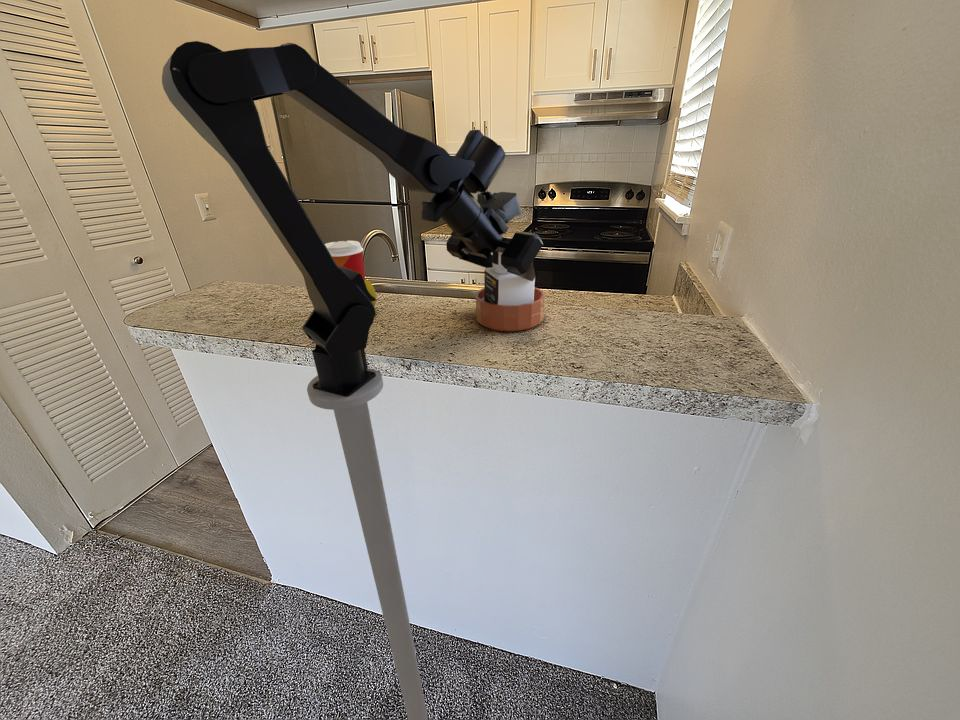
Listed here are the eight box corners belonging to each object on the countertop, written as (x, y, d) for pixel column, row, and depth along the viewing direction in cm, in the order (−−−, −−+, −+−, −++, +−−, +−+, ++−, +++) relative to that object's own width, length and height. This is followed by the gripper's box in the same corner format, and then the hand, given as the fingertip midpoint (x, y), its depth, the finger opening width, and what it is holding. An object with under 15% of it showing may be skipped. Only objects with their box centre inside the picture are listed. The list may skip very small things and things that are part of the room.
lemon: (375, 320, 78) (368, 280, 75) (346, 320, 79) (339, 280, 75) (381, 310, 83) (376, 272, 80) (355, 310, 83) (348, 272, 80)
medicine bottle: (483, 304, 78) (483, 240, 72) (517, 300, 80) (520, 238, 74) (497, 317, 72) (498, 248, 66) (533, 312, 74) (537, 245, 68)
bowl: (531, 337, 69) (532, 309, 67) (465, 327, 74) (464, 301, 72) (550, 312, 79) (552, 287, 77) (492, 304, 84) (491, 281, 82)
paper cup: (334, 311, 83) (319, 242, 76) (372, 306, 85) (361, 238, 78) (334, 325, 76) (317, 250, 70) (375, 319, 78) (363, 246, 72)
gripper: (537, 176, 56) (579, 244, 68) (456, 173, 69) (502, 231, 80) (496, 241, 56) (545, 300, 67) (421, 226, 68) (473, 277, 80)
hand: (514, 273), depth 73 cm, fingers closed on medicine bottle, 9 cm apart
